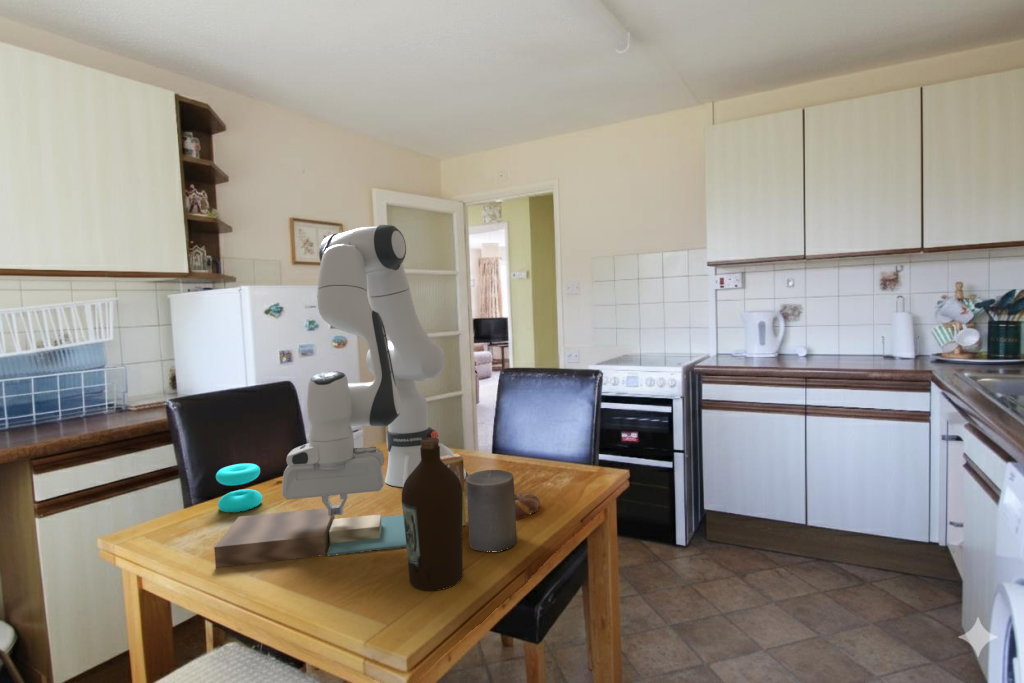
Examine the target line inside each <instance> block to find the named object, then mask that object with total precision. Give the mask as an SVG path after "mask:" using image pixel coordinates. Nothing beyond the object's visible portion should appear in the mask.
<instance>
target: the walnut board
mask: <svg viewBox="0 0 1024 683" xmlns="http://www.w3.org/2000/svg"><path fill="white" fill-rule="evenodd" d="M335 517H336V515H335V516H329V515H328V509H327V507H325V508H324V507H323V508H316V509H303V510H294V511H291V510H290V511H284V512H283V511H282V512H273V513H263V514H252V515H242V516H241V515H240V516H238V517H237V518H236V519H235V521H234V522H233V523H232V524H231V525H230V527H229V528H228V529H227V530H226V532H225V533H224V534H223V536H222V537H221V538H220V540H219V541H218V542H217V543H216V544H215V545H214V547H213V549H214V560H215V564H214V565H215V568H223V567H222V566H225V567H232V565H234V566H241V565H242V564H243V565H249V564H250V565H251V563H252V564H260V563H269V561H270V562H277V560H278V561H286V560H287V559H288V560H295V559H296V558H297V559H304V558H303V557H306V558H313V557H312V556H314V557H320V556H319V555H323V556H326V554H327V551H328V548H329V545H330V542H329V541H330V537H329V531H330V528H331V525H332V522H333V520H334V519H336V518H335ZM328 544H329V545H328ZM327 547H328V548H327ZM326 550H327V551H326ZM325 553H326V554H325ZM243 565H242V566H243Z"/></svg>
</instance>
